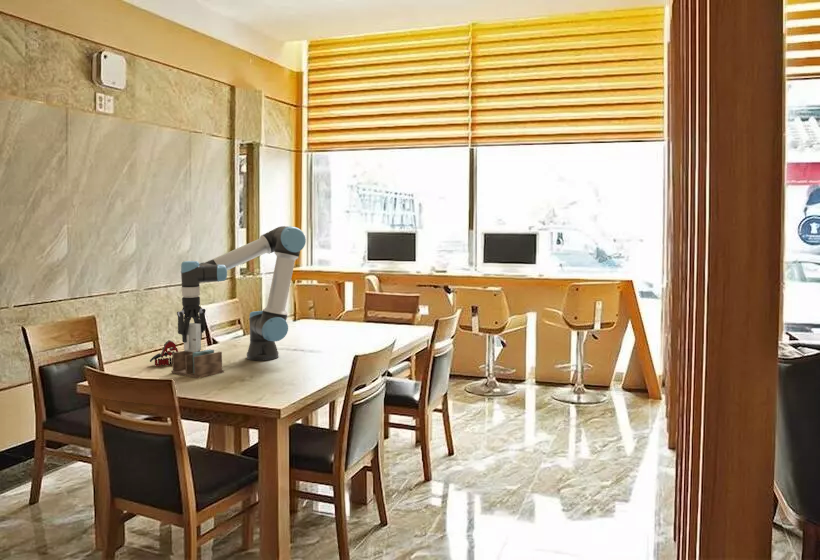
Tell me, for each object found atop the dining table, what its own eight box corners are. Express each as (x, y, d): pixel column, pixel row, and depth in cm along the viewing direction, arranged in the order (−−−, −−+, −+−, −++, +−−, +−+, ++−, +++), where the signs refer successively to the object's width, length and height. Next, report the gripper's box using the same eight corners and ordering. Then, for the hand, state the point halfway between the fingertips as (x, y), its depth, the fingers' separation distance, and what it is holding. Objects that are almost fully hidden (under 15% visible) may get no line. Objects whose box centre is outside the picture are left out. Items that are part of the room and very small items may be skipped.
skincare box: (184, 351, 312) (182, 324, 311) (189, 349, 317) (188, 322, 315) (196, 352, 311) (195, 324, 309) (202, 350, 315) (200, 323, 314)
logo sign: (150, 367, 325) (149, 343, 324) (149, 365, 328) (148, 341, 327) (191, 363, 333) (190, 339, 332) (189, 361, 336) (189, 338, 335)
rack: (197, 367, 324) (197, 345, 323) (223, 372, 313) (223, 349, 312) (171, 372, 312) (170, 350, 311) (197, 378, 302) (196, 355, 301)
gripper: (202, 293, 321) (204, 344, 323) (167, 297, 306) (169, 350, 308) (213, 294, 317) (215, 346, 319) (178, 299, 302) (180, 352, 304)
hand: (192, 348), depth 313 cm, fingers closed on skincare box, 5 cm apart
